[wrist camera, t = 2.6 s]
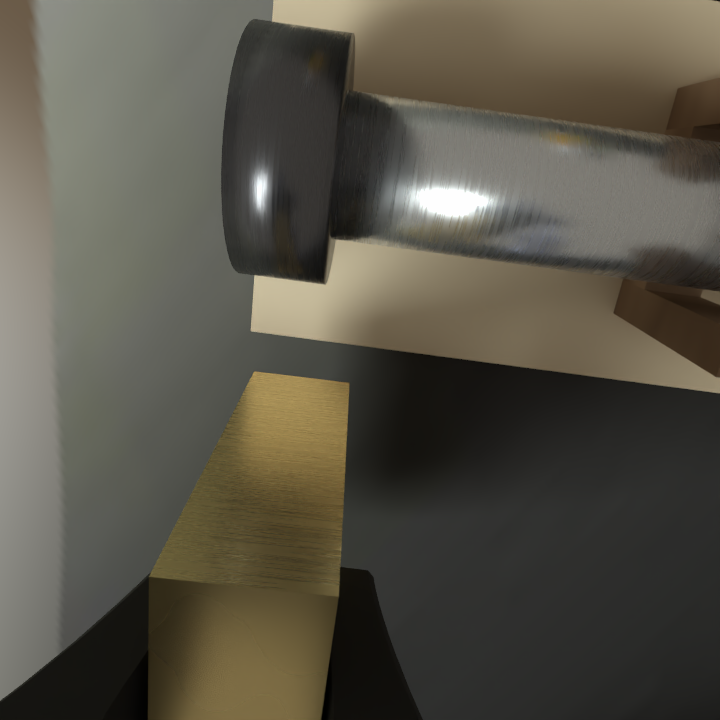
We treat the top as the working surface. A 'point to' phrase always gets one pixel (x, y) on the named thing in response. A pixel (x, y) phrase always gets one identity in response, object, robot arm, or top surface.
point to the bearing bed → (534, 98)
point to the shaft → (446, 176)
